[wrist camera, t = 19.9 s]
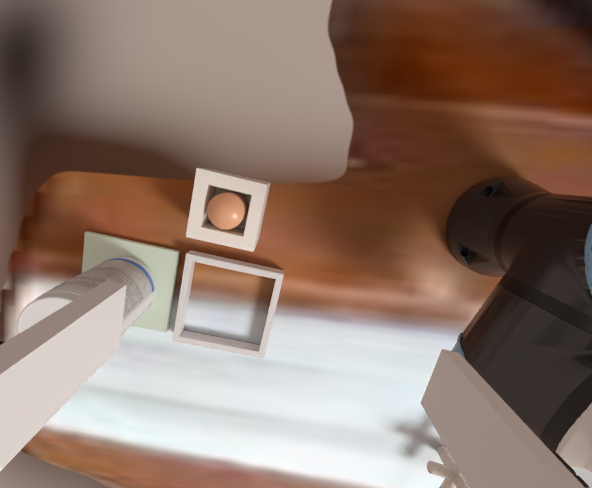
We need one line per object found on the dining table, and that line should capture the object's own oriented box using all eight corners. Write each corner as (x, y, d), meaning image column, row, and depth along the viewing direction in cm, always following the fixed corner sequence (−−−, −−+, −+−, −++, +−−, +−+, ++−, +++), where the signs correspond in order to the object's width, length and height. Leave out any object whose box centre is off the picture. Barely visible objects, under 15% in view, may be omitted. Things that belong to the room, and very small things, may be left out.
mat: (180, 250, 47) (178, 252, 46) (168, 329, 50) (166, 332, 49) (88, 230, 46) (84, 231, 45) (81, 312, 49) (78, 315, 48)
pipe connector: (406, 461, 58) (430, 519, 48) (430, 421, 56) (460, 474, 46) (451, 475, 59) (483, 535, 49) (476, 436, 57) (515, 491, 47)
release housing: (270, 182, 45) (267, 184, 38) (258, 239, 47) (253, 251, 40) (210, 168, 44) (196, 167, 37) (200, 226, 46) (185, 236, 39)
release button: (251, 195, 43) (246, 198, 38) (245, 226, 44) (239, 233, 39) (219, 187, 42) (210, 189, 37) (213, 218, 43) (204, 225, 38)
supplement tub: (98, 249, 46) (12, 286, 31) (162, 260, 46) (105, 301, 32) (96, 307, 48) (14, 365, 34) (156, 317, 48) (101, 378, 34)
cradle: (284, 270, 48) (283, 274, 46) (264, 351, 51) (263, 358, 49) (190, 250, 47) (186, 253, 45) (176, 334, 50) (172, 340, 48)
